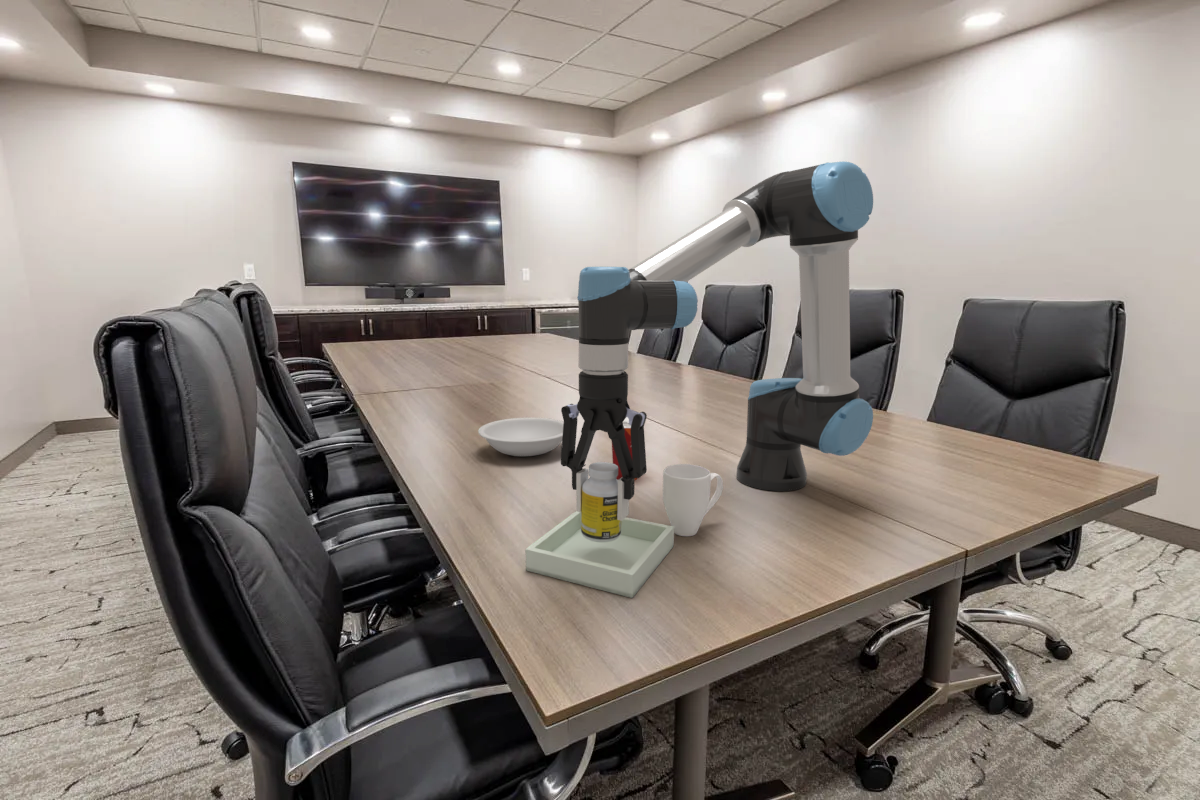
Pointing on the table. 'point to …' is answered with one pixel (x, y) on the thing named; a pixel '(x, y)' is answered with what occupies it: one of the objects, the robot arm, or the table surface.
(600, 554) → the tray
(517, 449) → the soup bowl
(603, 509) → the pill bottle
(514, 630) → the table surface
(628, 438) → the paper cup
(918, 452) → the table surface
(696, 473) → the mug
